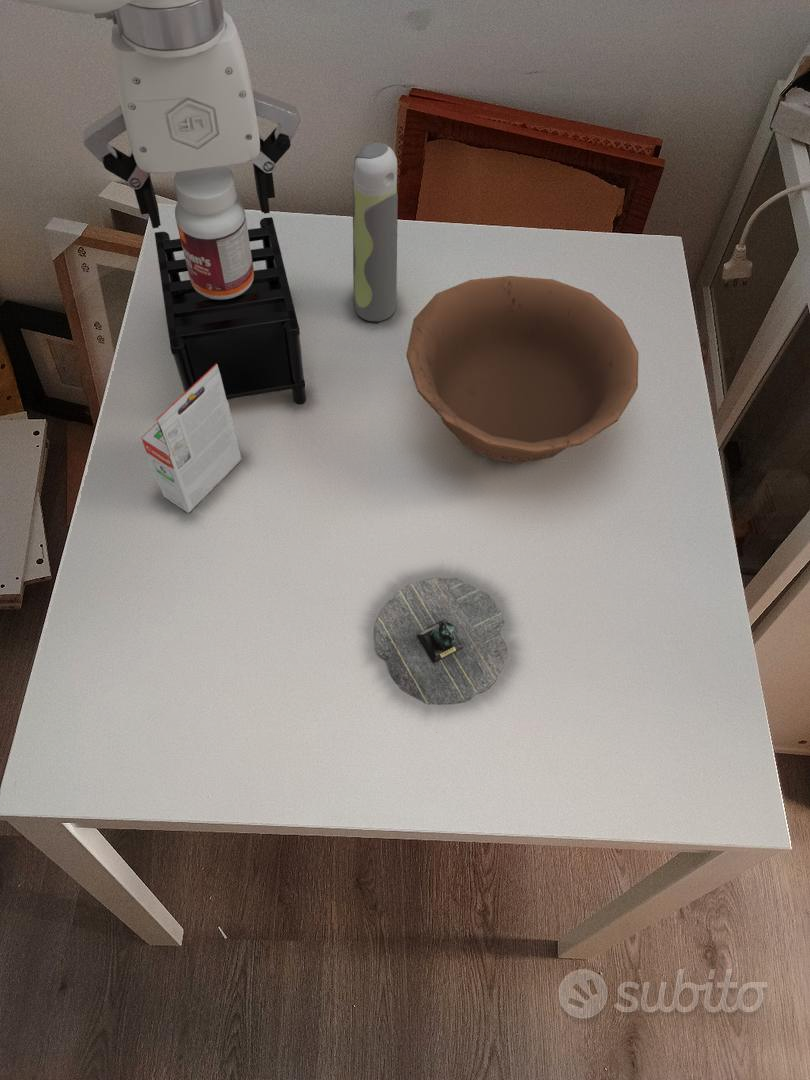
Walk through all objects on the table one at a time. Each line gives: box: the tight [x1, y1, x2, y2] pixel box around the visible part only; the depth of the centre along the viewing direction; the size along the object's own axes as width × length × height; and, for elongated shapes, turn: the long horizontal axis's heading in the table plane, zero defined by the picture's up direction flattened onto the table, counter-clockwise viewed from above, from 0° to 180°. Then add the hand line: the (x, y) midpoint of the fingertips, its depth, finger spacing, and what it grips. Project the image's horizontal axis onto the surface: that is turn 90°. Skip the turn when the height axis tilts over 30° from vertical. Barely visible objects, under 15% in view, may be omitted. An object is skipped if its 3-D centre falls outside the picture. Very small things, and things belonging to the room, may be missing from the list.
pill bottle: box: [173, 166, 255, 300], centre depth 76 cm, size 6×6×11 cm
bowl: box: [406, 275, 639, 464], centre depth 82 cm, size 22×22×11 cm
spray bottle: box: [352, 142, 399, 323], centre depth 86 cm, size 5×5×20 cm
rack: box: [154, 216, 307, 406], centre depth 85 cm, size 12×16×11 cm
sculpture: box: [374, 577, 509, 705], centre depth 74 cm, size 12×9×8 cm
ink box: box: [140, 364, 242, 514], centre depth 76 cm, size 4×8×15 cm, turn 145°
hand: (210, 210), depth 74 cm, fingers open, 9 cm apart
